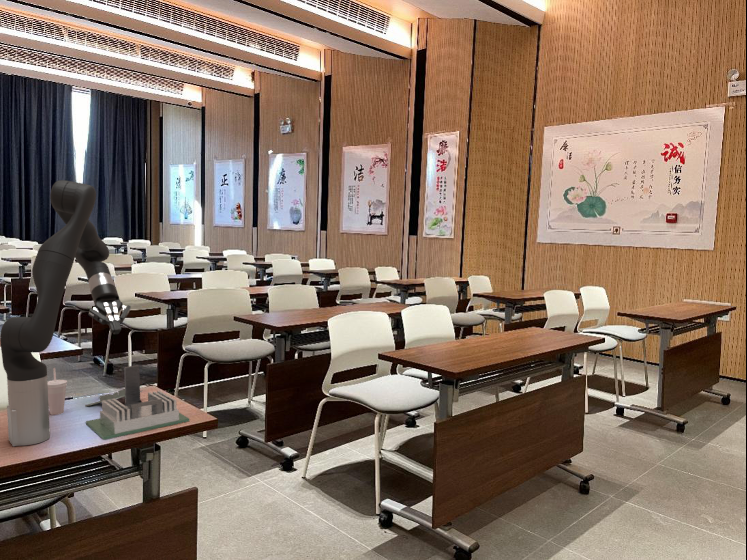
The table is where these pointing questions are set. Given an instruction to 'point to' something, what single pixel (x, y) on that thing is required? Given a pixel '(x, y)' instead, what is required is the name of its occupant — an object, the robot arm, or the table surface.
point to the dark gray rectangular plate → (132, 385)
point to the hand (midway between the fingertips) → (116, 332)
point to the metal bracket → (110, 397)
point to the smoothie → (56, 395)
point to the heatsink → (136, 416)
